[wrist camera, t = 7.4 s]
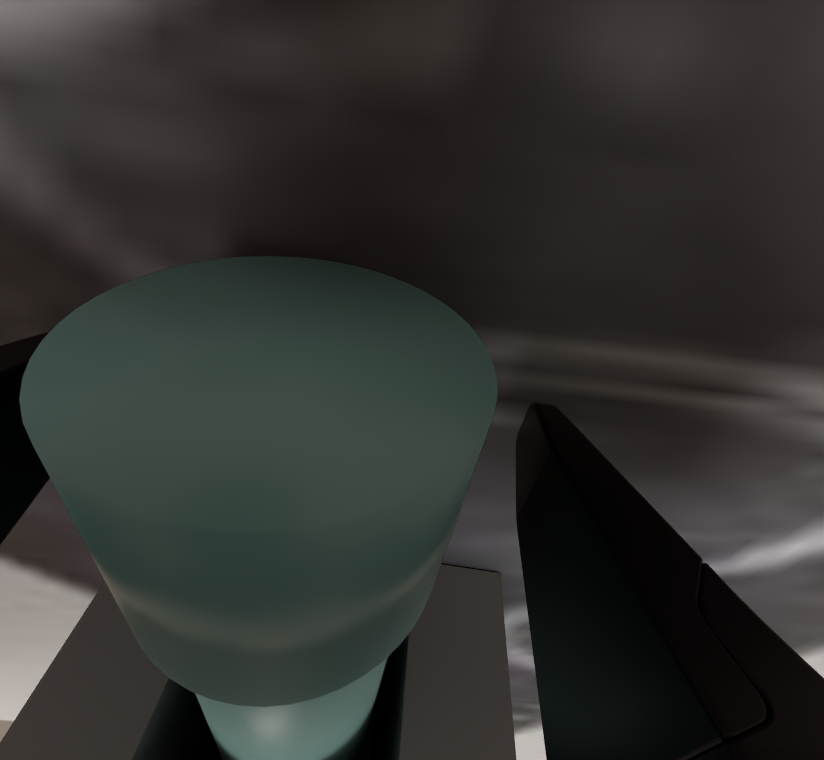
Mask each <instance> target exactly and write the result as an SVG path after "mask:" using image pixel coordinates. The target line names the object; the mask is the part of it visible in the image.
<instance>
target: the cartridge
mask: <svg viewBox="0 0 824 760" xmlns="http://www.w3.org/2000/svg"><path fill="white" fill-rule="evenodd" d="M497 397H498V394H497V376H496V372H495V368H494V363H493V361H492V359H491V357H490V354H489V352H488V350H487V348H486V346H485V345H484V343H483V342H482V340H481V339H480V337H479V336H478V334H477V333H476V332H475V331H474V330H473V329H472V327H471V326H470V325H469V324H468V323H467V322H466V321H465V320H464V319H463V318H462V317H461V316H459V315H458V314H457V313H456V312H455V311H454V310H452V309H451V308H450V307H448V306H447V305H445V304H444V303H443V302H441V301H440V300H438V299H437V298H435V297H433V296H431V295H430V294H428V293H426V292H425V291H423V290H421V289H419V288H417V287H415V286H412V285H410V284H408V283H406V282H403V281H401V280H398V279H396V278H393V277H391V276H388V275H385V274H382V273H379V272H376V271H373V270H369V269H365V268H361V267H357V266H353V265H348V264H343V263H338V262H333V261H326V260H319V259H311V258H300V257H283V256H249V257H234V258H223V259H215V260H207V261H201V262H196V263H190V264H185V265H180V266H176V267H172V268H168V269H164V270H160V271H157V272H154V273H151V274H148V275H144V276H141V277H138V278H136V279H133V280H131V281H128V282H126V283H123V284H121V285H118V286H116V287H114V288H112V289H110V290H108V291H106V292H104V293H102V294H100V295H98V296H96V297H94V298H93V299H91V300H90V301H88V302H86V303H85V304H83V305H82V306H80V307H78V308H77V309H75V310H74V311H73V312H72V313H70V314H69V315H68V316H67V317H65V318H64V319H63V320H62V321H60V322H59V323H58V324H57V325H56V326H55V327H54V328H53V329H52V330H51V331H50V332H49V333H48V334H47V336H46V337H45V338H44V339H43V340H42V341H41V343H40V344H39V346H38V347H37V349H36V350H35V352H34V353H33V355H32V356H31V358H30V360H29V362H28V365H27V367H26V370H25V372H24V375H23V377H22V383H21V391H20V398H19V401H20V408H21V415H22V422H23V424H24V427H25V429H26V431H27V433H28V436H29V438H30V440H31V442H32V445H33V447H34V448H35V450H36V452H37V454H38V456H39V458H40V460H41V462H42V464H43V465H44V467H45V469H46V471H47V473H48V475H49V477H50V479H51V480H52V482H53V484H54V486H55V488H56V490H57V492H58V494H59V495H60V497H61V499H62V501H63V503H64V505H65V507H66V509H67V510H68V512H69V514H70V516H71V518H72V520H73V522H74V524H75V526H76V527H77V529H78V531H79V533H80V535H81V537H82V539H83V541H84V542H85V544H86V546H87V548H88V550H89V552H90V554H91V556H92V557H93V559H94V561H95V563H96V565H97V567H98V569H99V571H100V572H101V574H102V576H103V578H104V580H105V582H106V584H107V586H108V587H109V589H110V591H111V593H112V595H113V597H114V599H115V601H116V603H117V604H118V606H119V608H120V610H121V612H122V614H123V616H124V618H125V619H126V621H127V623H128V625H129V627H130V629H131V631H132V633H133V634H134V636H135V638H136V640H137V642H138V644H139V645H140V647H141V648H142V649H143V651H144V652H145V653H146V655H147V656H148V658H149V659H150V660H151V662H152V663H153V664H155V665H156V666H157V667H158V668H159V669H160V670H161V671H162V672H163V673H164V674H165V675H166V676H167V677H169V678H170V679H172V680H173V681H175V682H176V683H178V684H180V685H181V686H183V687H184V688H186V689H187V690H189V691H192V692H194V693H195V694H196V696H197V699H198V701H199V704H200V706H201V708H202V711H203V713H204V716H205V718H206V720H207V723H208V725H209V728H210V730H211V733H212V735H213V737H214V740H215V742H216V745H217V747H218V749H219V752H220V754H221V757H222V759H223V760H358V759H359V756H360V752H361V749H362V745H363V742H364V738H365V735H366V731H367V728H368V724H369V721H370V717H371V714H372V710H373V707H374V703H375V700H376V696H377V693H378V689H379V686H380V682H381V679H382V675H383V672H384V668H385V665H386V661H387V658H388V656H389V655H390V654H391V653H392V652H393V651H394V650H395V649H396V648H397V647H398V646H399V645H400V644H401V643H402V641H403V640H404V639H405V638H406V636H407V635H408V634H409V632H410V631H411V630H412V628H413V627H414V626H415V624H416V622H417V620H418V619H419V617H420V615H421V613H422V612H423V610H424V608H425V605H426V603H427V600H428V598H429V596H430V593H431V591H432V588H433V585H434V582H435V579H436V577H437V574H438V571H439V568H440V565H441V562H442V560H443V557H444V554H445V551H446V548H447V546H448V543H449V540H450V537H451V534H452V531H453V529H454V526H455V523H456V520H457V517H458V515H459V512H460V509H461V506H462V503H463V500H464V498H465V495H466V492H467V489H468V486H469V484H470V481H471V478H472V475H473V472H474V469H475V467H476V464H477V461H478V458H479V455H480V452H481V450H482V447H483V444H484V441H485V438H486V436H487V433H488V430H489V427H490V424H491V421H492V419H493V416H494V412H495V407H496V402H497Z"/></svg>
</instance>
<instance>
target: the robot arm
mask: <svg viewBox="0 0 824 760" xmlns="http://www.w3.org/2000/svg"><path fill="white" fill-rule="evenodd" d="M48 333H49V332H47V333H43V334H40V335H36V336H33V337H29V338H26V339H22V340H19V341H15V342H12V343H8V344H5V345H1V346H0V545H1V543H2V542H3V541H4V539H5V538H6V537H7V535H8V534H9V533H10V531H11V530H12V528H13V527H14V526H15V524H16V523H17V522H18V520H19V519H20V518H21V516H22V515H23V514H24V512H25V511H26V510H27V508H28V507H29V506H30V504H31V503H32V501H33V500H34V499H35V497H36V496H37V495H38V493H39V492H40V491H41V489H42V488H43V487H44V485H45V484H46V483H47V481H48V480H49V479H50V477H49V475H48V473H47V471H46V469H45V467H44V465H43V464H42V462H41V460H40V458H39V456H38V454H37V452H36V450H35V448H34V447H33V445H32V442H31V440H30V438H29V436H28V433H27V431H26V429H25V427H24V424H23V422H22V415H21V408H20V401H19V398H20V391H21V383H22V377H23V375H24V372H25V370H26V367H27V365H28V362H29V360H30V358H31V356H32V355H33V353H34V352H35V350H36V349H37V347H38V346H39V344H40V343H41V341H42V340H43V339H44V338H45V337H46V336H47V334H48ZM516 520H517V530H518V539H519V546H520V554H521V562H522V570H523V578H524V586H525V593H526V601H527V609H528V617H529V625H530V632H531V640H532V648H533V656H534V664H535V671H536V679H537V687H538V695H539V703H540V710H541V718H542V726H543V734H544V742H545V749H546V757H547V760H824V678H823V677H822V676H821V675H819V674H818V673H817V672H816V671H815V670H814V669H813V668H812V667H811V666H810V665H809V664H808V663H807V662H806V661H804V660H803V659H802V658H801V657H800V656H799V655H798V654H797V653H796V652H795V651H794V650H793V649H792V648H791V647H790V646H789V645H788V644H787V643H786V642H785V641H783V640H782V639H781V638H780V637H779V636H778V635H777V634H776V633H775V632H774V631H773V630H772V629H771V628H770V627H769V626H768V625H767V624H766V623H765V622H764V621H763V620H762V619H761V618H760V617H759V616H758V615H757V614H756V613H755V612H754V611H753V610H752V609H751V608H750V607H749V606H748V605H747V604H746V603H745V602H744V601H743V600H742V599H741V598H740V597H739V596H738V595H737V594H736V593H735V592H734V591H733V590H732V589H731V588H730V587H729V586H728V585H727V584H726V583H725V582H724V581H723V580H722V579H721V578H720V577H719V576H718V575H717V574H716V572H715V571H714V570H713V569H712V568H711V567H710V566H709V565H708V564H706V563H702V558H701V557H700V556H699V555H698V554H697V553H696V552H695V551H694V550H693V549H692V548H691V547H690V546H689V544H688V543H687V542H686V541H685V540H684V539H683V538H682V537H681V536H680V535H679V534H678V533H677V532H676V531H675V530H674V529H673V528H672V527H671V526H670V525H669V524H668V523H667V521H666V520H665V519H664V518H663V517H662V516H661V515H660V514H659V513H658V512H657V511H656V510H655V509H654V508H653V507H652V506H651V505H650V504H649V503H648V502H647V501H646V500H645V498H644V497H643V496H642V495H641V494H640V493H639V492H638V491H637V490H636V489H635V488H634V487H633V486H632V485H631V484H630V483H629V482H628V481H627V480H626V479H625V478H624V477H623V475H622V474H621V473H620V472H619V471H618V470H617V469H616V468H615V467H614V466H613V465H612V464H611V463H610V462H609V461H608V460H607V459H606V458H605V457H604V456H603V455H602V453H601V452H600V451H599V450H598V449H597V448H596V447H595V446H594V445H593V444H592V443H591V442H590V441H589V440H588V439H587V438H586V437H585V436H584V435H583V434H582V433H581V432H580V430H579V429H578V428H577V427H576V426H575V425H574V424H573V423H572V422H571V421H570V420H569V419H568V418H567V417H566V416H565V415H564V414H563V413H562V412H561V411H560V410H559V409H558V408H557V407H556V406H555V405H552V404H546V403H540V402H533V403H531V405H530V406H529V408H528V410H527V412H526V415H525V417H524V420H523V422H522V425H521V427H520V429H519V432H518V435H517V439H516Z"/></svg>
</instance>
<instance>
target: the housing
mask: <svg viewBox="0 0 824 760" xmlns="http://www.w3.org/2000/svg"><path fill="white" fill-rule="evenodd" d="M0 760H223V759H222V757H221V754H220V752H219V749H218V747H217V745H216V742H215V740H214V737H213V735H212V733H211V730H210V728H209V725H208V723H207V720H206V718H205V716H204V713H203V711H202V708H201V706H200V704H199V701H198V699H197V696H196V694H195V693H194V692H192V691H189V690H187V689H186V688H184V687H183V686H181V685H180V684H178V683H176V682H175V681H173V680H172V679H170V678H169V677H167V676H166V675H165V674H164V673H163V672H162V671H161V670H160V669H159V668H158V667H157V666H156V665H155V664H153V663H152V662H151V660H150V659H149V658H148V656H147V655H146V653H145V652H144V651H143V649H142V648H141V647H140V645H139V644H138V642H137V640H136V638H135V636H134V634H133V633H132V631H131V629H130V627H129V625H128V623H127V621H126V619H125V618H124V616H123V614H122V612H121V610H120V608H119V606H118V604H117V603H116V601H115V599H114V597H113V595H112V593H111V591H110V589H109V587H108V586H107V584H106V582H104V583H103V585H102V586H101V588H100V589H99V591H98V592H97V594H96V595H95V597H94V599H93V600H92V602H91V603H90V605H89V606H88V608H87V609H86V611H85V612H84V614H83V616H82V617H81V619H80V620H79V622H78V623H77V625H76V626H75V628H74V629H73V631H72V633H71V634H70V636H69V637H68V639H67V640H66V642H65V643H64V645H63V646H62V648H61V650H60V651H59V653H58V654H57V656H56V657H55V659H54V660H53V662H52V663H51V665H50V666H49V668H48V670H47V671H46V673H45V674H44V676H43V677H42V679H41V680H40V682H39V683H38V685H37V687H36V688H35V690H34V691H33V693H32V694H31V696H30V697H29V699H28V700H27V702H26V704H25V705H24V707H23V708H22V710H21V711H20V713H19V714H18V716H17V717H16V719H15V720H14V722H13V724H12V725H11V727H10V728H9V730H8V732H7V733H6V735H5V736H4V737H3V739H2V741H1V742H0ZM358 760H516V751H515V740H514V728H513V717H512V705H511V693H510V682H509V670H508V659H507V647H506V635H505V624H504V612H503V601H502V589H501V577H500V573H495V572H488V571H482V570H475V569H469V568H462V567H456V566H449V565H443V564H441V565H440V568H439V571H438V574H437V577H436V579H435V582H434V585H433V588H432V591H431V593H430V596H429V598H428V600H427V603H426V605H425V608H424V610H423V612H422V613H421V615H420V617H419V619H418V620H417V622H416V624H415V626H414V627H413V628H412V630H411V631H410V632H409V634H408V635H407V636H406V638H405V639H404V640H403V641H402V643H401V644H400V645H399V646H398V647H397V648H396V649H395V650H394V651H393V652H392V653H391V654H390V655H389V656H388V658H387V661H386V665H385V668H384V672H383V675H382V679H381V682H380V686H379V689H378V693H377V696H376V700H375V703H374V707H373V710H372V714H371V717H370V721H369V724H368V728H367V731H366V735H365V738H364V742H363V745H362V749H361V752H360V756H359V759H358Z"/></svg>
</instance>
